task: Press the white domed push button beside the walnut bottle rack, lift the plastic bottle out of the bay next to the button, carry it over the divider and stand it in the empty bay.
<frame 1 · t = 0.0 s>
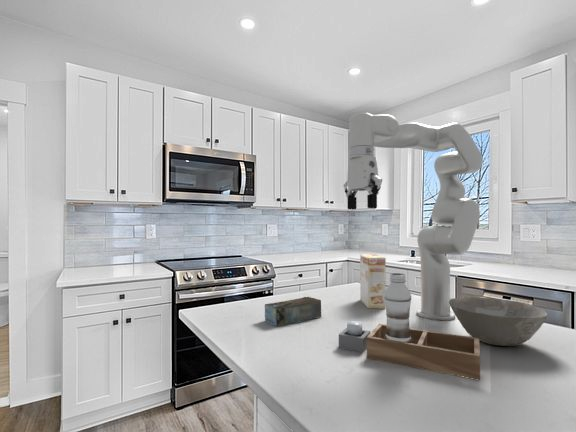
hand: (361, 208, 105), 37 cm above the countertop, tool pointing down, fingers open, 9 cm apart
white domed push button: (354, 328, 90), point 5 cm above the countertop, slide at 0.0 cm
button housing: (354, 345, 90), on the countertop
coffeecake box: (372, 304, 136), on the countertop
plastic bottle: (398, 354, 84), resting in walnut bottle rack
walnut bottle rack: (422, 358, 82), on the countertop
ceramic bowl: (495, 342, 93), on the countertop
brown-grey rectangular block: (293, 320, 115), on the countertop
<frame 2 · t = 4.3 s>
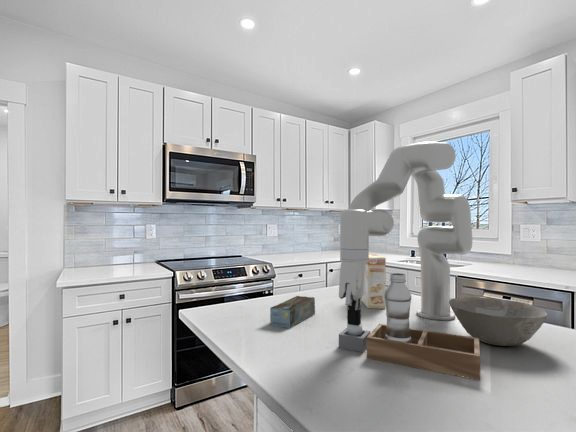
hand: (354, 324, 90), 6 cm above the countertop, tool pointing down, fingers closed
white domed push button: (354, 328, 90), point 5 cm above the countertop, slide at 0.2 cm, touching gripper
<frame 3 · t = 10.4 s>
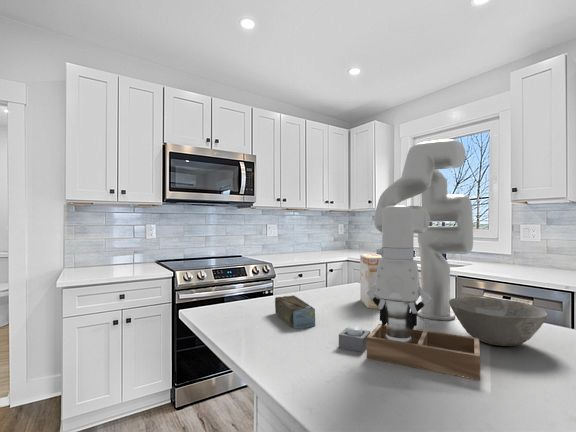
hand: (398, 325, 84), 7 cm above the countertop, tool pointing down, fingers closed on plastic bottle, 6 cm apart
white domed push button: (354, 333, 90), point 3 cm above the countertop, slide at 1.4 cm
plastic bottle: (398, 354, 84), resting in walnut bottle rack, touching gripper
when the fingers open (8 cm above the countertop, at t = 16.9 s): plastic bottle drops 1 cm, resting in walnut bottle rack.
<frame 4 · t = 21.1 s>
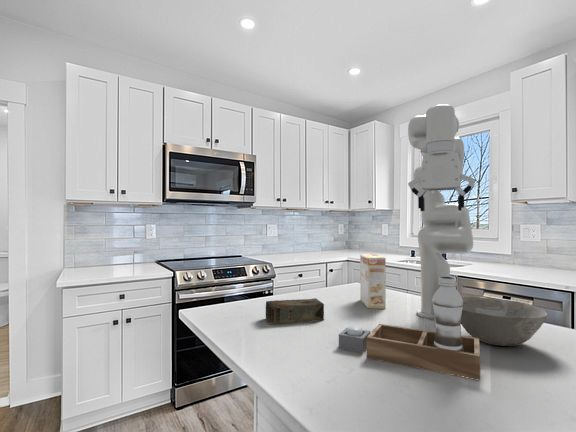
hand: (440, 210, 95), 36 cm above the countertop, tool pointing down, fingers open, 9 cm apart
plastic bottle: (448, 363, 79), resting in walnut bottle rack
at the end: plastic bottle inside the target area on the walnut bottle rack (0.4 cm from its centre), point 0.0 cm above the walnut bottle rack's base; plastic bottle tilted 0°; the gripper is holding nothing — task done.
